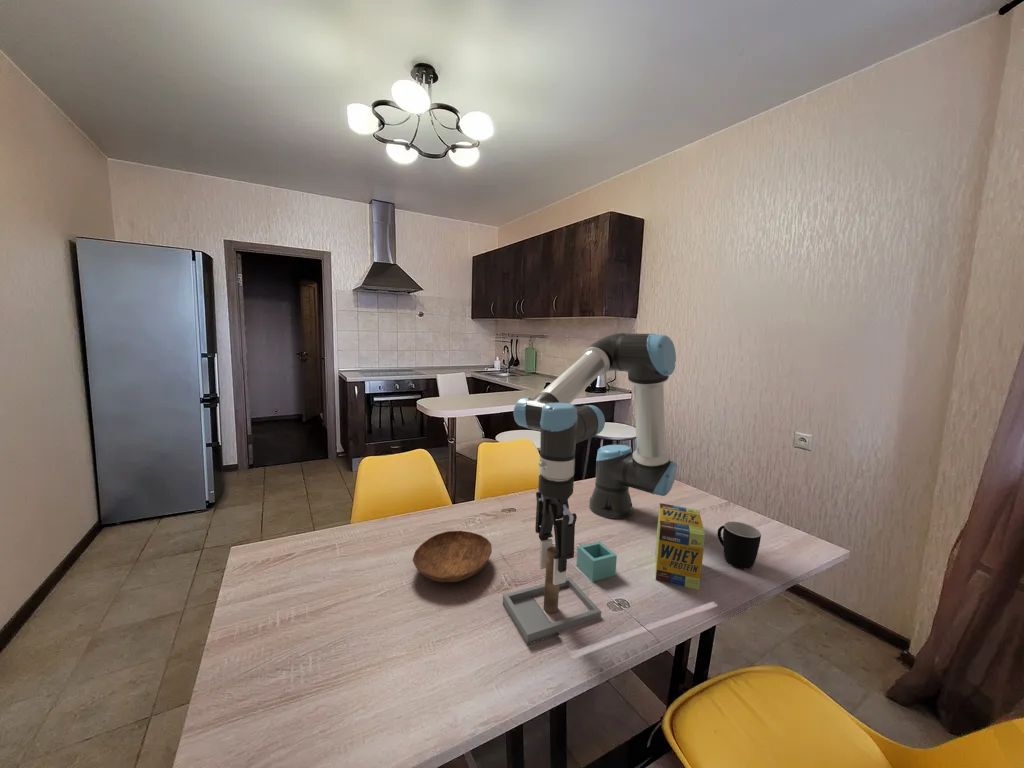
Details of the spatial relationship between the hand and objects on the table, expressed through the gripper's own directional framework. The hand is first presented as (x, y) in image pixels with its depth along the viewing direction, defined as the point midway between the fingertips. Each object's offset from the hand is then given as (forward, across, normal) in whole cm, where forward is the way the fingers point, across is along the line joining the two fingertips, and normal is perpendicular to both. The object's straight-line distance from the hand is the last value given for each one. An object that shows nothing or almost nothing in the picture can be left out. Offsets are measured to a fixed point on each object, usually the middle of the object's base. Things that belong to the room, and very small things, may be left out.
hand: (552, 574), depth 88 cm
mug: (+10, +1, +59) cm, 60 cm away
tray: (+9, 0, 0) cm, 9 cm away
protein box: (+10, -1, +39) cm, 40 cm away
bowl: (+10, -24, -16) cm, 30 cm away
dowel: (+9, 0, 0) cm, 9 cm away
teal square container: (+9, -8, +18) cm, 22 cm away
